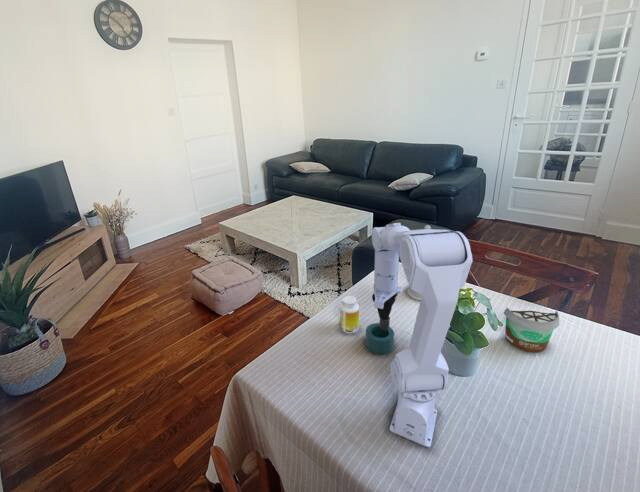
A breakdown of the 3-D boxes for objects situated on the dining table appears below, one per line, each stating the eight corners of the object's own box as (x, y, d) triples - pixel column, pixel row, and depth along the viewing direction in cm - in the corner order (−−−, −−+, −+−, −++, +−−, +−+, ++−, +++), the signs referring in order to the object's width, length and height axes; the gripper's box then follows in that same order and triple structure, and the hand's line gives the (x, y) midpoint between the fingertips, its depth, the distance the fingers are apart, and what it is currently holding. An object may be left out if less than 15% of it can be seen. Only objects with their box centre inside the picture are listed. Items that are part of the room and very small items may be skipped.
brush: (388, 330, 89) (389, 306, 87) (378, 328, 90) (379, 304, 88) (390, 324, 91) (391, 301, 89) (380, 322, 93) (381, 299, 90)
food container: (507, 353, 88) (513, 321, 84) (498, 337, 93) (504, 306, 90) (562, 358, 85) (571, 325, 81) (550, 341, 90) (558, 310, 86)
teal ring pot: (389, 357, 89) (390, 344, 88) (362, 349, 93) (362, 335, 92) (396, 340, 95) (396, 327, 94) (370, 333, 99) (370, 320, 97)
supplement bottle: (362, 328, 101) (363, 299, 98) (350, 337, 98) (350, 307, 94) (348, 320, 105) (348, 292, 102) (336, 328, 102) (335, 299, 99)
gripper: (396, 289, 77) (394, 337, 82) (408, 261, 89) (405, 304, 94) (366, 283, 80) (365, 329, 85) (380, 257, 92) (379, 299, 97)
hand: (384, 316), depth 90 cm, fingers closed on brush
